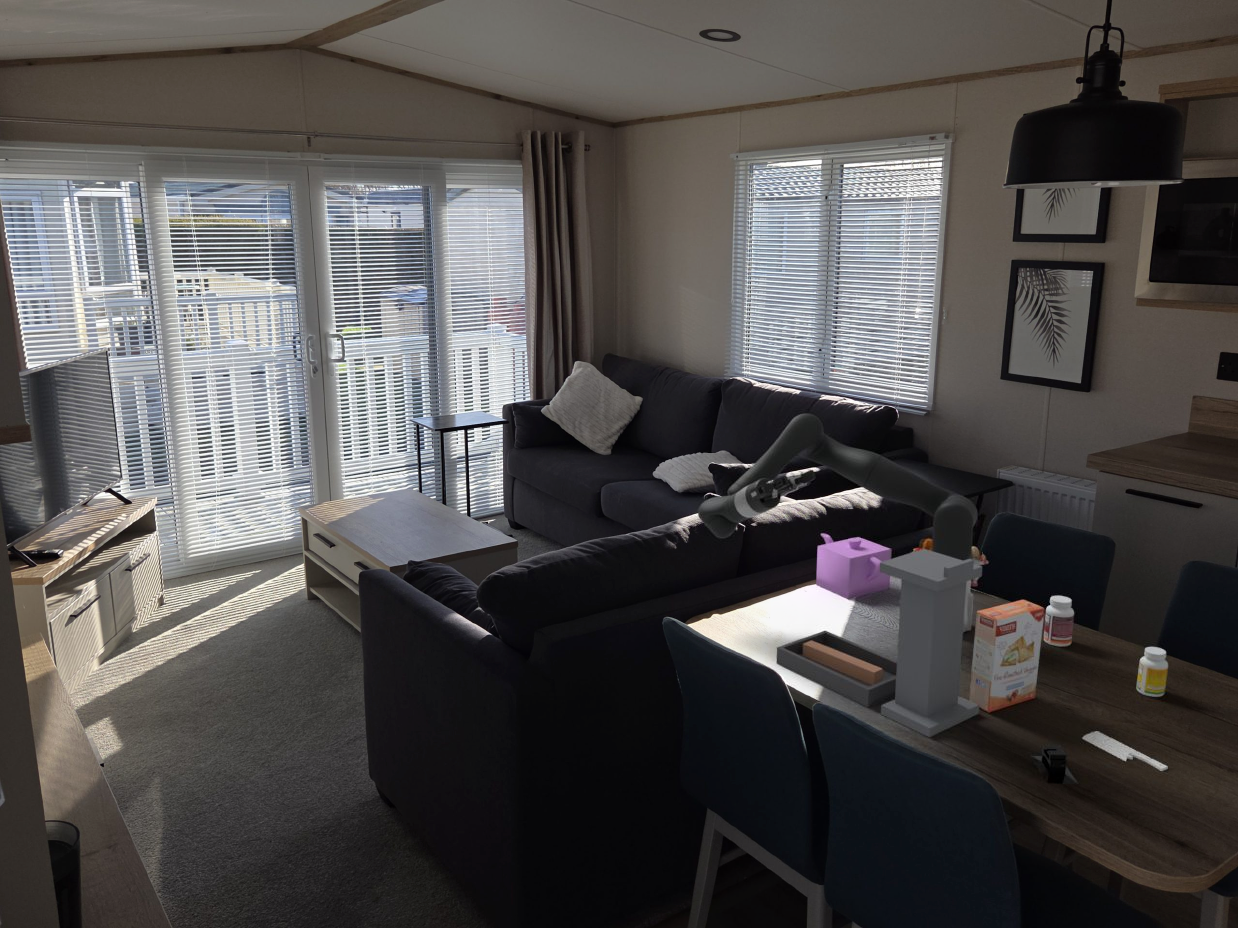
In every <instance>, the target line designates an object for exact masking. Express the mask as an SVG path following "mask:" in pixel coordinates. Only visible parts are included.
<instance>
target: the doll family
mask: <svg viewBox="0 0 1238 928" xmlns="http://www.w3.org/2000/svg"><path fill="white" fill-rule="evenodd" d="M918 545H919V547H917V548H916V547H915V548H913V551H912V552H916V551H919V550H922V549H926V550H929V551H932V539H931V538H921V539H920V541H919V544H918ZM972 553H973V560H974V564H976V565H979V566H982V565H983V566H984V565H988V564H989V561H988V560H987V557H986V555H985V554H983V551H982V552H981V553H982V554H980V550H979V549H978V547H976V546H973V545H972ZM981 577H982V576H980V577H978V578H975V579H972V580H971V587H978V585H979V584H978V580H979V579H980V578H981Z"/></svg>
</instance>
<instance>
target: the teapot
mask: <svg viewBox="0 0 1238 928" xmlns="http://www.w3.org/2000/svg"><path fill="white" fill-rule="evenodd" d="M820 536H821V537H822V538H823V540H824V542H825V544H821V545H817V550H816V551H817V554H816V556H817V557H816V582H815V584H816V586H817V587H820V588H821V589H824V590H826V591H829V592H831V593H833V594H835V595H837V596H840V597H842V598H844V599H846V600H852V599H855V598H859V597H863V596H867V595H871V594H874V593H878V592H882V591H886V590H889V589H890V588H891V587H890V583H891V576H890V575H887V574H884V573H881V572H879V571H880V562H883V561H886V560H890V559H892V548H889V547H886V546H883V545H881V544H878V543H875V542H873V541H870V540H867V539H865V538H861V537H860V536H857V537H851V538H850V537H849V538H848V539H843V540H839V541H834V540H833V538H832V537H831V536H830V535H829V534H827V533H820Z"/></svg>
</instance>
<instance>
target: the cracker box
mask: <svg viewBox="0 0 1238 928" xmlns="http://www.w3.org/2000/svg"><path fill="white" fill-rule="evenodd" d="M1045 611H1046V609H1045V607H1043V606H1040V605H1038V604H1036V603H1033V602H1031V601H1028V600H1026V599H1020V600H1016V601H1013V602H1008V603H1003V604H1001V605H997V606H996V605H995V606H993V607H989V608H985V609H980V610H977V611H976V619H975V620H976V621H975V631H974V641H973V651H972V652H973V653H972V662H971V663H972V664H971V672H970V673H971V675H970V687H969V696H968V700H969V701H971V702H974V703H976V704H978V705H979V709H981V710H983V711H985V712H987V713H992V712H995V711H998V710H1002V709H1004V708H1007V707H1011V706H1013V705H1017V704H1020V703H1024V702H1026V701H1030V700H1032V699H1035V697H1036V689H1037V679H1038V673H1039V672H1038V670H1039V663H1040V661H1039V660H1040V655H1041V653H1040V652H1041V644H1042V636H1043V627H1044V619H1045Z"/></svg>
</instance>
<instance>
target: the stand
mask: <svg viewBox="0 0 1238 928" xmlns="http://www.w3.org/2000/svg"><path fill="white" fill-rule="evenodd" d="M879 572H881V573H884V574H887V575H890V577H894V578H896V579H899V580H901V586H900V599H899V600H900V603H899V604H900V605H899V619H898V620H899V622H898V638H897V639H898V641H897V654H896V655H897V657H896V661H897V672H896V691H895V696H894V699H892V700H891V701H888V702H885V703H883V704H882V705H880V707H881V708H880V715H882V716H884V717H887V718H888V719H891V720H892V721H895V722H897V723H898V724H900V725H903V726H905V727H906V728H909V729H911V730H913V731H915V732H917V733H919V734H921V735H924V737H925V736H926V737H927V738H931V737H933V736H936V735H937V734H939V733H941V732H943V731H945V730H947V729H950V728H952V727H954V726H956V725H958V724H960V723H962V722H964V721H967V720H968V719H971V718H973V717H974V716H977V715H979V711H980V708H979V705H978V704H976V703H974V702H971V701H969V699H967V698H964V697H961V696H959V694H960V693H959V691H960V678H961V677H960V675H961V674H960V673H961V666H962V665H961V664H962V663H961V661H962V650H963V649H962V647H963V638H964V637H963V635H964V632H963V623H964V609H965V595H966V581H969V580H971V581H973V579H975V578H978V577H979V578H981V577H982V576H983V566H982V565H980V566H979V565H976V564H974V560H972V559H967V560H964V561H963V560H959V559H956V558H953V557H949V556H946V555H943V554H939V553H936V552H933V551H929V550H926V549H922V550H919V551H916V552H913V551H911V552H909V553H906V554H904V555H899V556H897V557H896V556H895V557H894V558H891V559H890V560H886V561H883V562H880V571H879ZM980 576H981V577H980ZM979 578H978V579H979Z"/></svg>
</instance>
